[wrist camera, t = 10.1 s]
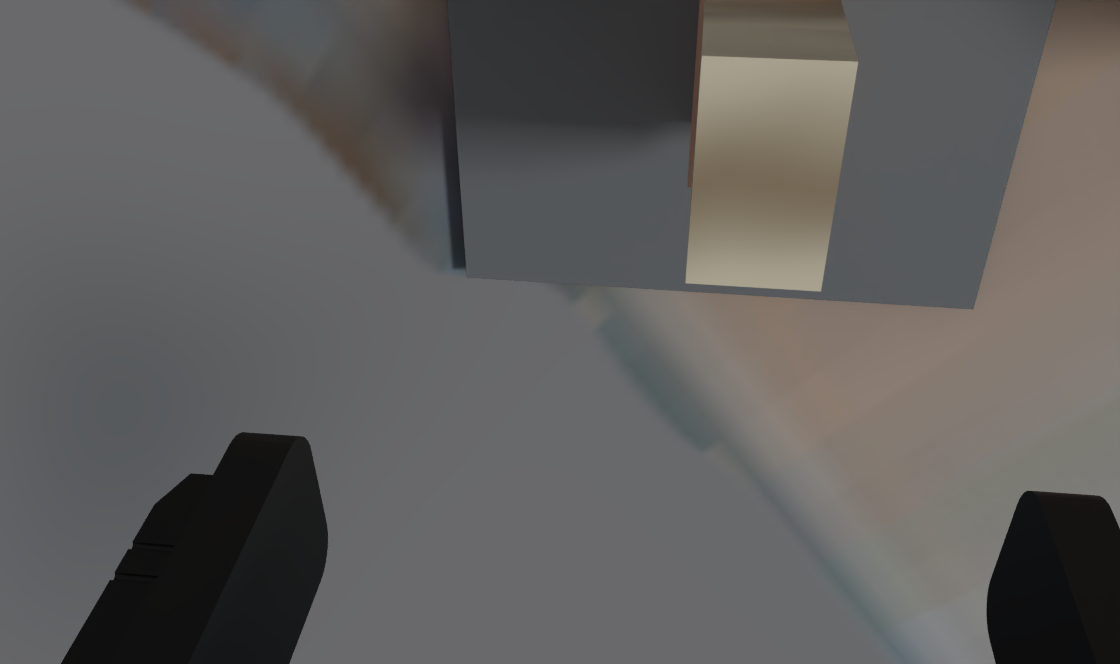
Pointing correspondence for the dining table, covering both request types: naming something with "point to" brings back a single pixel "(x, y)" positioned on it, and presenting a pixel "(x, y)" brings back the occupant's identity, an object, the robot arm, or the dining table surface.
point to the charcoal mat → (665, 128)
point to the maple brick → (768, 141)
